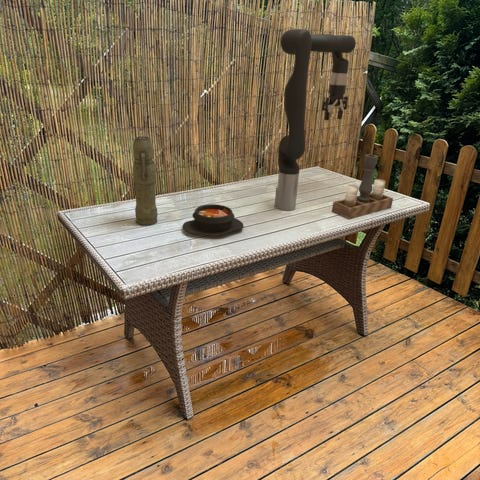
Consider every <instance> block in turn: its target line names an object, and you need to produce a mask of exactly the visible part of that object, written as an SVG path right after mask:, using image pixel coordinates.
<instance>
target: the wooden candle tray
mask: <svg viewBox="0 0 480 480" xmlns="http://www.w3.org/2000/svg"><path fill="white" fill-rule="evenodd" d="M386 182H387V181H386V180H384V179H380V178H377V179H374V182H373V185H372V192H371V193H370V195H369V198H370V200H369V201H370V203H367V204H363V203H361V202H359V201H357V199H358V196H359V195H358V191H359V186H357V185H355V184H348V185H346V191H345V197H344V199H339V200H338V199H337V200H335V201H333V202H332V208H331V212H332V213H334V214H336V215H338V216H341V217H342V218H344V219H347V220H352V219H355V218H359V217H362V216H367V215H371V214H374V213H377V212H381V211H385V210H389V209H391V208H392V205H393V201H394V198H393V197H391V196H388V195H386V194H384V191H385V187H386V186H385V185H386Z"/></svg>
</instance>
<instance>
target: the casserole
mask: <svg viewBox="0 0 480 480" xmlns="http://www.w3.org/2000/svg"><path fill="white" fill-rule="evenodd" d="M192 218H193V219H192V220H187V221H184V223H183V224H182V229H183V230H184V231H185V232H186V233H189V234H194V235H206V236H223V235H227V234H230V233H232V232H235V231H239V230H242V229H244V223H243V222H242V221H241V220H239V219H237V218H235V214H234V212H233V210H232V209H231V207H229V206H226V205H222V204H214V203H213V204H212V203H211V204H203V205H200V206H197V207H196V208H195V210H194V211H193V213H192Z"/></svg>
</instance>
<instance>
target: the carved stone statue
mask: <svg viewBox="0 0 480 480" xmlns="http://www.w3.org/2000/svg"><path fill="white" fill-rule="evenodd" d="M132 156H133V157H132V158H133V159H134V160H133V166H132V180H133V184H134V189H135V190H134V191H135V193H134V194H135V208H134V211H135V219H136V220H135V222H136V224H137V225H139V226H142V227H145V226H146V227H148V226H154V225H156V224H157V223H158V208H157V202H156V201H157V200H156V182H157V180H156V179H157V177H156V176H157V175H156V172H157V171H156V166H155V163H154V146H153V143H152V140H151V138H150V137H147V136H137V137H135V138H134V140H133V143H132Z"/></svg>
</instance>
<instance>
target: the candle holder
mask: <svg viewBox="0 0 480 480" xmlns="http://www.w3.org/2000/svg"><path fill="white" fill-rule="evenodd" d="M378 160H379V156H378V155H376V154H369V153H368V154H365V155H364V159H363V164H364V167H363V168H362V170H363V177H362V180H361V182H360V185H359V186H358V191H359V195H357V196H358V199H357V201H359V202H361V203H363V204H367V203H370V201H369V200H370V198H369V195H370V193H372V192H373V173H374V172H375V171H376V169H375V167H376V166H377V164H378Z"/></svg>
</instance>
